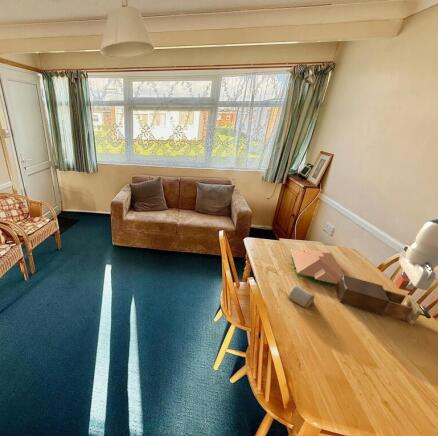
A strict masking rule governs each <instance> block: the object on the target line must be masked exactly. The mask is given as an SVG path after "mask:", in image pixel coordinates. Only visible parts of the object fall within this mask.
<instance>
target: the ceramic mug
mask: <svg viewBox="0 0 438 436" xmlns="http://www.w3.org/2000/svg"><path fill="white" fill-rule="evenodd" d="M288 299H289V300H290V301H292V302H294V303H296V304H297V305H299V306H300V307H302V308H305V309H308V308H309V307H310V306H311V305H312V304H313V302H314V300H315V296H314V295H313V294H312V293H311V292H310V291H307V290H306V289H304V288H303V287H301V286H299V285H295V286H294V287H293V288H292V289H291V291H290V292H289V295H288Z"/></svg>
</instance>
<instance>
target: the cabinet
mask: <svg viewBox="0 0 438 436" xmlns="http://www.w3.org/2000/svg"><path fill="white" fill-rule="evenodd" d="M385 290H386V289H385V288H384V285H382V284H378V283H374V282H371V281H367V280H364V279H360V278H356V277H352V276H349V275H345V274H344V275H342V278H341V280H340V282H339V284H338V285H337V286H336V289H335V291H336V296H337V301H339V303H340V304H344V305H346V306H350V307H353V308H356V309H359V310H363V311H366V312H368V313H373V314H376V315H378V316H382V315H383V314H382V313H383V312H384V310H385V308H386V307H387V305H388V303H389V302H390V301H389V299H388V297H387V295H386V292H385Z"/></svg>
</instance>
